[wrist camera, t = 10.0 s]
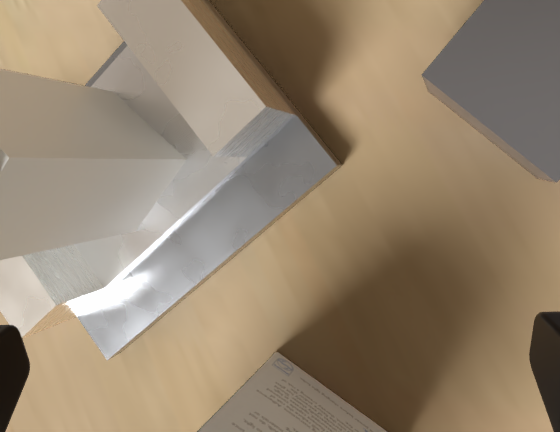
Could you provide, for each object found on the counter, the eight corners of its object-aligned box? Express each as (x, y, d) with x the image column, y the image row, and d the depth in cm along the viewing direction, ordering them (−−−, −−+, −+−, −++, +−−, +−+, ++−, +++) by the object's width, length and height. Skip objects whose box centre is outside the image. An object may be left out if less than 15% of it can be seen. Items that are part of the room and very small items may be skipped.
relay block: (626, 86, 18) (672, 65, 14) (536, 178, 19) (556, 182, 15) (507, -2, 19) (520, -44, 15) (428, 91, 20) (421, 75, 16)
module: (186, 159, 21) (-133, 156, 10) (135, 231, 23) (-205, 303, 11) (110, 89, 22) (-266, 10, 11) (65, 162, 23) (-320, 161, 12)
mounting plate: (342, 165, 21) (313, 166, 17) (120, 352, 25) (53, 390, 21) (194, -18, 22) (133, -59, 18) (7, 191, 26) (-77, 196, 22)
